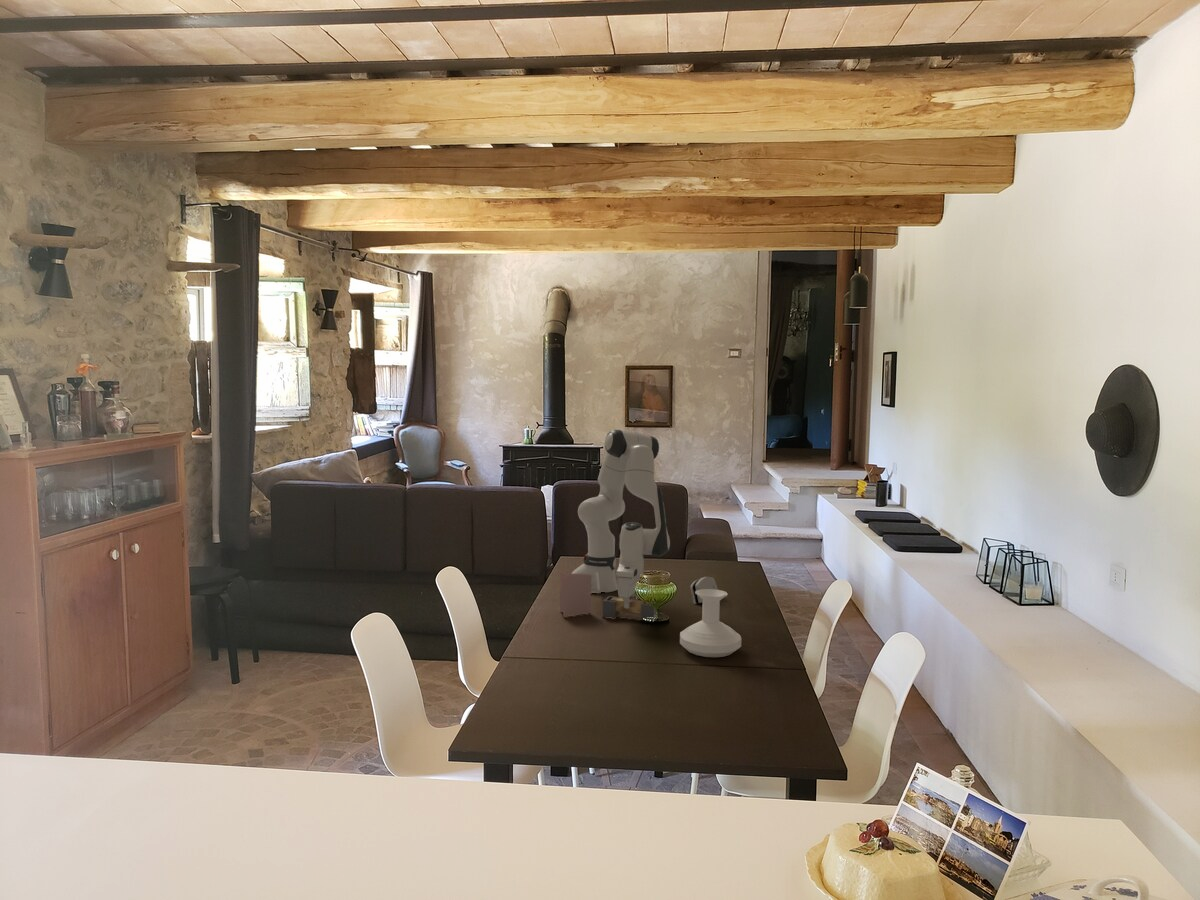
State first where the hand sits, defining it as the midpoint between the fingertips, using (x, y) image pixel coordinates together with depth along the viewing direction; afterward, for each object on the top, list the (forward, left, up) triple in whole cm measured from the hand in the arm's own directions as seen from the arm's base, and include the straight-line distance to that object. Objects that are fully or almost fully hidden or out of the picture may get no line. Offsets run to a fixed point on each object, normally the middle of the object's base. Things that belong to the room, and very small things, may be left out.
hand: (630, 604), depth 301 cm
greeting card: (-20, -4, -5) cm, 22 cm away
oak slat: (0, 0, -3) cm, 3 cm away
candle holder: (+35, -26, -5) cm, 44 cm away
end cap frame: (0, 0, -5) cm, 5 cm away
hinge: (+21, +35, -6) cm, 41 cm away
